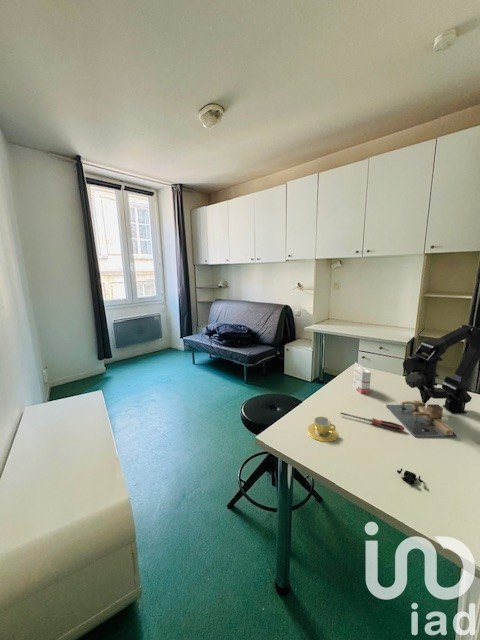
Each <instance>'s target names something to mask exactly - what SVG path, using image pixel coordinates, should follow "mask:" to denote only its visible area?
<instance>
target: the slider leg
mask: <svg viewBox="0 0 480 640" xmlns="http://www.w3.org/2000/svg"><path fill="white" fill-rule="evenodd" d="M426 408H427V411H426V412H413V414H414V415H415V420H416V421H417V420H418V416H426V417H425V418H426V419H427V420H429V421H430V422H432V418H439V419H440V420H441V421H442V420H443V411H444V407H443V406H441V405H439V404H438V403H437V404H427V403H426Z"/></svg>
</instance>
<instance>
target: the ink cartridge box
mask: <svg viewBox="0 0 480 640" xmlns="http://www.w3.org/2000/svg"><path fill="white" fill-rule="evenodd" d="M371 375H372V372H371V371H369V370H368V369H366V368H365V367H363V366H362V365H361V364H360V363H357V362H354V367H353V379H352V380H353V381H352V387H353V388H354V389H355V390H356V391H357V392H359V393H360V394H369V393H370V389H371V377H372V376H371Z"/></svg>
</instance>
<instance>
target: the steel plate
mask: <svg viewBox="0 0 480 640" xmlns="http://www.w3.org/2000/svg"><path fill="white" fill-rule="evenodd" d="M385 406H386V407H385V408H386V409H388V411H390V412H391V414H392V415H393V416H394V417H395V418H396V419H397V420H398V422H400V423H401V424H402V426H403V427H404V428H405V429H406V430H407V431H408V432H409V433H410V434H411V435H412V436H413V438H458V434H457V433H456V432H455V431H453V434H452V435H445V434H444V433H443V432H442V431H441V430H440V429H439V428H438V427H436V426H435V425H434V424H433V423H432V422H430V421H429V420H427V419H426V418H425V416H418V420H417V421H416V420H415V415H414V414H413V412H420V411H419V410H417V409H414V408H413V407H412V406H413V405H412V404H405V405H404V409H403V408H402V404H386V405H385Z"/></svg>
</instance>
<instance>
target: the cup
mask: <svg viewBox="0 0 480 640" xmlns="http://www.w3.org/2000/svg"><path fill="white" fill-rule="evenodd" d="M313 422H314V423H312V424H310V425H308V427H307V429H306V430H307V433H308V435H309V436H310V437H311V438H312V439H314V440H316V441H319V442H324V443H326V442H327V443H329V442H333V441H335V440H337V438H338V436H339V434H338V433H339V432H338V430H336V425H335V424H334V423H332V421H331V420H330V418H328V417H326V416H316V417H315V418H314V420H313ZM316 432H317V433H318V434H319V435H318V434H317V433H316ZM328 432H329V435H328V436H323V435H326V434H327V433H328ZM320 435H321V436H320Z"/></svg>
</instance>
